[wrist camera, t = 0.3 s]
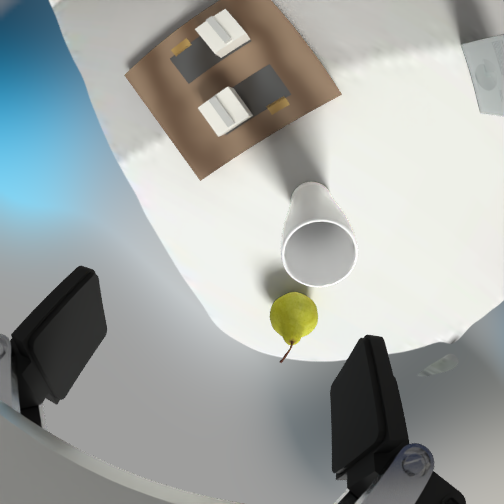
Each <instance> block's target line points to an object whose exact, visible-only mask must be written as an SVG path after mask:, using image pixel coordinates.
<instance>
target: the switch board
mask: <svg viewBox="0 0 504 504" xmlns="http://www.w3.org/2000/svg"><path fill="white" fill-rule="evenodd" d="M224 9H226V10H227V11H228V12H229V13H230V15H231V16H232V17H233V18H234V19H235V20H236V21H237V23H238V24H239V25H240V26H241V27H242V29H243V30H244V31H245V32H246V33H247V35H248V36H249V38H250V40H249V41H247V42H245V43H244V44H242V45H240V46H239V47H237V48H236V49H234V50H233V51H231V52H230V53H228V54H227V55H225V56H224V57H222V58H221V57H219V56H218V55H216V54H215V53H214V52H213V51H212V50H211V48H210V47H209V46H208V45H207V43H206V42H205V41H204V40H203V39H202V37H201V36H200V35H199V34H198V32H197V31H196V30H195V29H196V28H197V27H198V26H200V25H201V24H203V23H204V22H206V19H208V18H209V17H211V16H215V15H216V14H218V13H219V12H221V11H222V10H224ZM125 77H126V78H127V79H128V81H129V82H130V84H131V85H132V86H133V88H134V89H135V91H136V92H137V93H138V95H139V96H140V98H141V99H142V100H143V102H144V103H145V104H146V106H147V107H148V109H149V110H150V111H151V113H152V114H153V116H154V117H155V118H156V120H157V121H158V123H159V124H160V125H161V127H162V128H163V130H164V131H165V132H166V134H167V135H168V136H169V138H170V139H171V141H172V142H173V143H174V145H175V146H176V148H177V149H178V150H179V152H180V153H181V155H182V156H183V157H184V159H185V160H186V161H187V163H188V164H189V166H190V167H191V168H192V170H193V171H194V173H195V174H196V175H197V177H198V178H199V180H200V181H201V180H202V179H204V178H205V177H207V176H208V175H210V174H211V173H212V172H214V171H215V170H217V169H218V168H220V167H221V166H223V165H224V164H226V163H227V162H229V161H230V160H232V159H233V158H235V157H236V156H238V155H239V154H241V153H243V152H244V151H246V150H247V149H249V148H250V147H252V146H254V145H255V144H257V143H258V142H260V141H261V140H263V139H265V138H266V137H268V136H270V135H271V134H273V133H275V132H276V131H278V130H280V129H281V128H283V127H285V126H286V125H288V124H290V123H291V122H293V121H295V120H297V119H298V118H300V117H302V116H304V115H305V114H307V113H309V112H311V111H312V110H314V109H316V108H318V107H320V106H321V105H323V104H325V103H327V102H329V101H331V100H333V99H334V98H336V97H338V96H340V95H342V94H341V92H340V91H339V89H338V88H337V86H336V85H335V83H334V82H333V80H332V78H331V77H330V76H329V74H328V73H327V71H326V70H325V68H324V67H323V65H322V64H321V62H320V61H319V60H318V58H317V57H316V55H315V54H314V53H313V51H312V50H311V49H310V47H309V46H308V45H307V43H306V42H305V41H304V39H303V38H302V37H301V35H300V34H299V33H298V32H297V30H296V29H295V28H294V27H293V25H292V24H291V23H290V22H289V21H288V19H287V18H286V17H285V16H284V15H283V13H282V12H281V11H280V10H279V9H278V8H277V6H276V5H275V4H274V3H273V2H272V1H271V0H219V1H218V2H216V3H215V4H213V5H211V6H210V7H208V8H207V9H205V10H204V11H202V12H201V13H199V14H198V15H197V16H195V17H194V18H192V19H191V20H189V21H188V22H187V23H185V24H184V25H183V26H181V27H180V28H179V29H177V30H176V31H175V32H173V33H172V34H171V35H170V36H168V37H167V38H166V39H165V40H163V41H162V42H161V43H160V44H158V45H157V46H156V47H155V48H154V49H152V50H151V51H150V52H149V53H148V54H147V55H146V56H144V57H143V58H142V59H141V60H140V61H139V62H138V63H137V64H136V65H134V66H133V67H132V68H131V69H130V70H129V71H128V72H127V73H126V74H125ZM226 87H231V88H234V89H235V91H236V92H237V94H238V95H239V96H240V98H241V99H242V100H243V102H244V103H245V105H246V106H247V107H248V109H249V110H250V112H251V113H252V115H253V116H252V117H250V118H248V119H247V120H245V121H244V122H242V123H241V124H239V125H238V126H236V127H235V128H233V129H232V130H230V131H229V132H227V133H226V134H224V135H222V136H219V137H218V135H217V134H216V133H215V131H214V130H213V128H212V127H211V126H210V124H209V123H208V122H207V120H206V119H205V117H204V116H203V115H202V113H201V112H200V110H199V109H198V107H200V106H201V105H202V104H204V103H205V102H206V101H208V100H209V99H211V98H212V97H213V96H215V95H216V94H218V93H219V92H220V91H222V90H223V89H225V88H226Z"/></svg>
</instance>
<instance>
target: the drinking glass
mask: <svg viewBox="0 0 504 504" xmlns="http://www.w3.org/2000/svg"><path fill="white" fill-rule="evenodd" d="M357 258H358V245H357V241H356V238H355V234H354V231H353V229H352V226H351V224H350V222H349V220H348V218H347V217H346V215H345V214H344V212H343V211H342V209H341V208H340V207H339V205H338V204H337V203H336V201H335V200H334V199H333V197H332V196H331V194H330V192H329V190H328V189H327V188H326V187H325V186H324V185H322V184H320V183H317V182H306V183H303V184H301V185H299V186H298V187H297V188H296V189H295V190H294V192H293V194H292V197H291V203H290V207H289V210H288V213H287V216H286V219H285V222H284V226H283V230H282V238H281V259H282V263H283V266H284V268H285V270H286V271H287V273H288V274H289V275H290V276H291V277H292V278H293V279H294V280H296V281H297V282H299V283H301V284H304V285H307V286H311V287H326V286H330V285H333V284H336V283H338V282H340V281H341V280H343V279H344V278H345V277H347V276H348V275H349V273H350V272H351V271H352V270H353V268H354V266H355V264H356V261H357Z"/></svg>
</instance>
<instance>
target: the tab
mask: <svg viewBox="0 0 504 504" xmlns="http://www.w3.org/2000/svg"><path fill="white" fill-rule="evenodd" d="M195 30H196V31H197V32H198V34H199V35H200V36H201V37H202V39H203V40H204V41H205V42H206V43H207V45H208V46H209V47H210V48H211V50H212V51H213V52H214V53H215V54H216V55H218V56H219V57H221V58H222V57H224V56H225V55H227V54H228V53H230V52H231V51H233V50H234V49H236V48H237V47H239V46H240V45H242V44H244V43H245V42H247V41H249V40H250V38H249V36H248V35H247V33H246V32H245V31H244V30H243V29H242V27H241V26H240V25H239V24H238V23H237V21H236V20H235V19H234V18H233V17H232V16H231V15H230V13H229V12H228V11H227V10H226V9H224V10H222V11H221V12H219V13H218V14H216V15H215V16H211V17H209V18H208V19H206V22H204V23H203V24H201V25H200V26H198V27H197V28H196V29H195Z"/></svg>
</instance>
